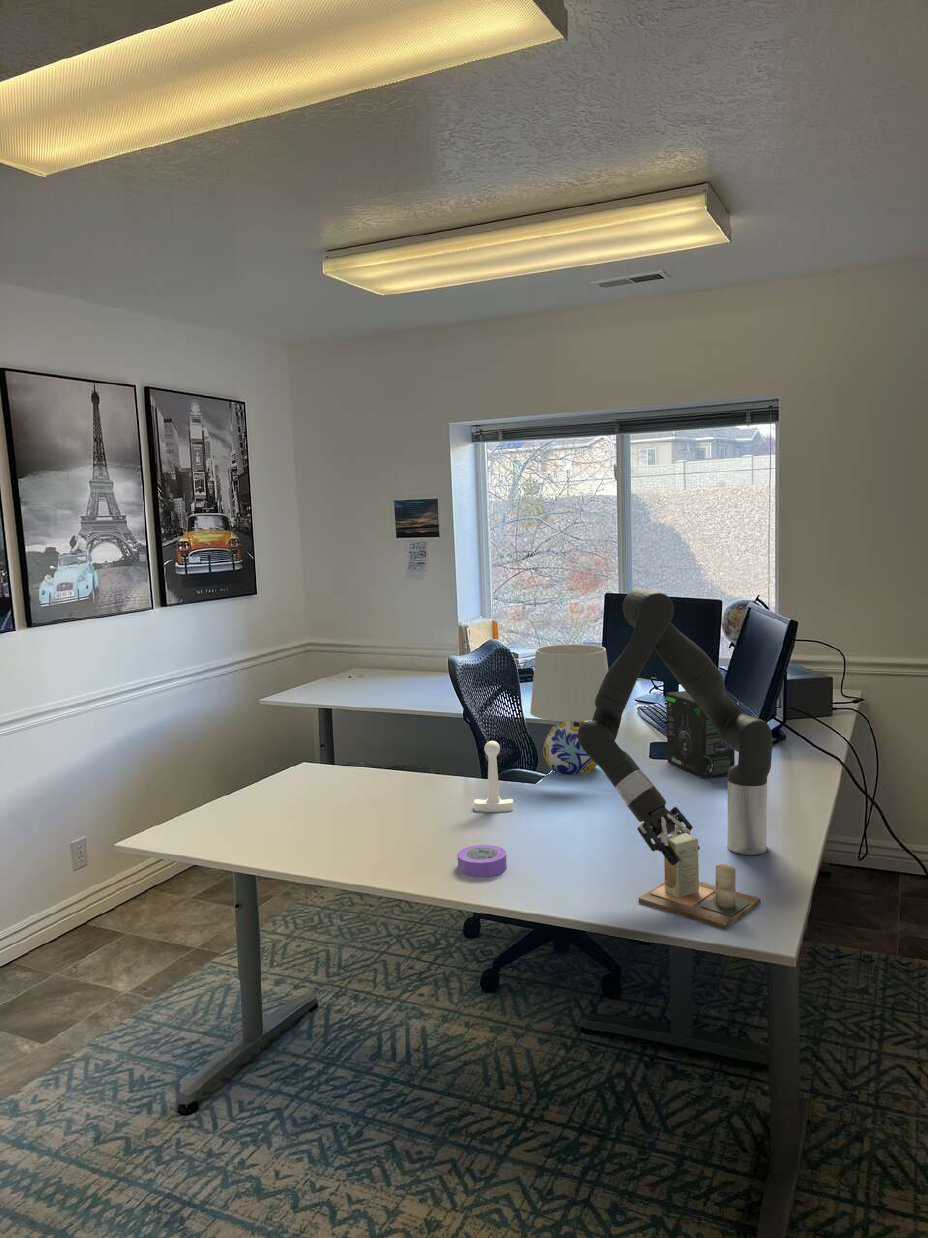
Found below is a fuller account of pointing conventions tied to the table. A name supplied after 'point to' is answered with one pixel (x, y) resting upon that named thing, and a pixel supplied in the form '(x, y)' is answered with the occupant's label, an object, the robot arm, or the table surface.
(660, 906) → the board
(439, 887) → the table surface
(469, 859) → the masking tape
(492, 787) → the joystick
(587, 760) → the table lamp
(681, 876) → the skincare box
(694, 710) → the headset box
